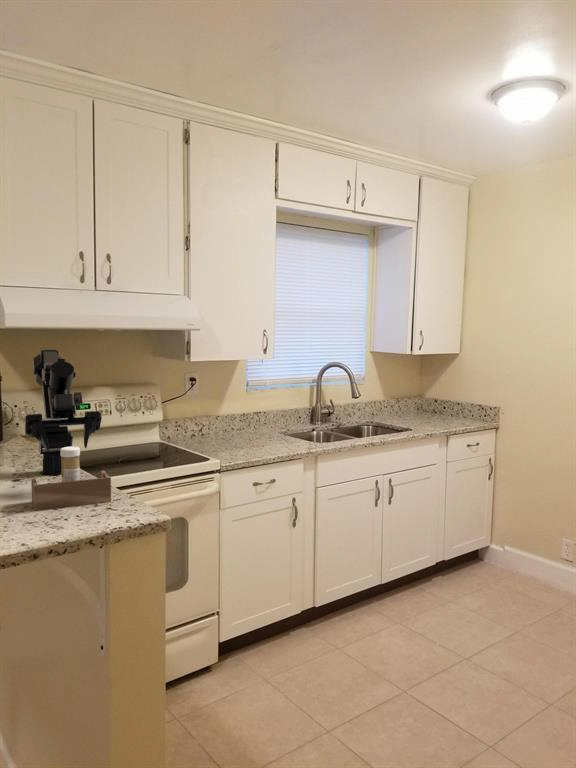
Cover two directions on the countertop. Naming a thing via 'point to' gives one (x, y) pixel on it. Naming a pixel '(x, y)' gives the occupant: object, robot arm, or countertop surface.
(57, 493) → the walnut crate
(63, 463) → the sprinkles bottle
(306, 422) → the countertop surface
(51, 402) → the robot arm
